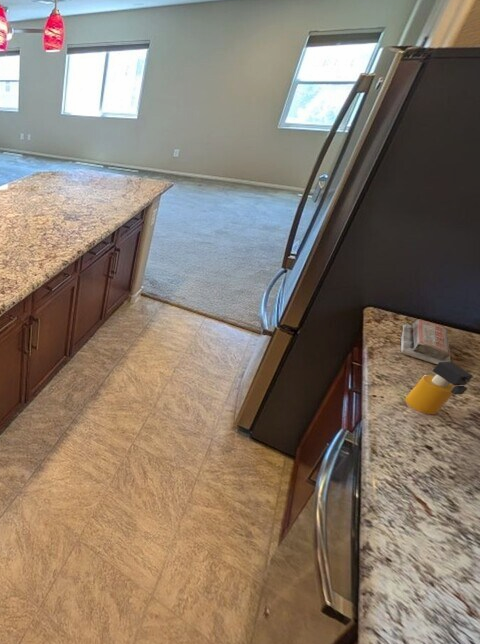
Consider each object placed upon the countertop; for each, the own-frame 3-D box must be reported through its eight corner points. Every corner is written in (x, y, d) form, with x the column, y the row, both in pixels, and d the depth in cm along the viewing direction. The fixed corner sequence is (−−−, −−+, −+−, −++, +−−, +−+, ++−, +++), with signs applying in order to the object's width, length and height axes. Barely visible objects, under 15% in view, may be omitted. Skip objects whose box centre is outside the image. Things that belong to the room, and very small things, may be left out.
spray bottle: (398, 397, 101) (429, 359, 94) (419, 396, 101) (451, 358, 94) (424, 417, 95) (459, 378, 88) (446, 416, 95) (482, 377, 88)
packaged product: (409, 314, 123) (455, 327, 117) (401, 326, 125) (446, 340, 119) (408, 341, 112) (459, 357, 106) (399, 353, 114) (448, 370, 108)
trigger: (450, 391, 91) (455, 385, 90) (458, 391, 91) (463, 385, 90) (454, 394, 91) (459, 388, 90) (462, 394, 91) (467, 388, 90)
